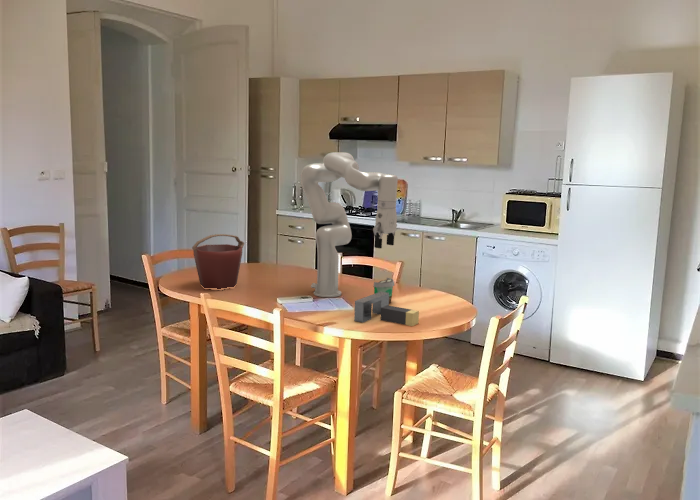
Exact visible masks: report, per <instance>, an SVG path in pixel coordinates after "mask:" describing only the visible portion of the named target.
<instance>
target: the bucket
mask: <svg viewBox="0 0 700 500" xmlns="http://www.w3.org/2000/svg"><path fill="white" fill-rule="evenodd" d="M216 237H230V238H234V239H235V241H236V242H237V243H238V244H237V245H236V244H235V245H233V244H228V243H227V244H205V245H204V244H203V245H200V244H201V243H203V242H205V241H207V240H209V239H211V238H216ZM199 245H200V246H199ZM244 245H245V242H244V241H242V240H240V238H239V236H238V235H233V234H225V233H217V234H216V233H215V234H210V235H207V236H205V237H203V238H201V239H200V240H198V241H196V242H195V243H194V244H193V246H192V247H191V248H192V250H193V257H194V263H195V267H196V272H197V276H198V281H199V285H200V284H201V285H202V286H203V287H204V288H217V289H221V288H227V287H234V286H235V285H236V284H238V278H239V274H240V268H241V262H242V256H243V248H244ZM236 286H237V285H236Z"/></svg>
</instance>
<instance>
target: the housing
mask: <svg viewBox="0 0 700 500" xmlns="http://www.w3.org/2000/svg"><path fill="white" fill-rule="evenodd" d="M387 305H389V306H390V304H389V293H387V292H378V293H375V294H374V293H373V294H369V295H368V296H367V295H366V296H364V297H362V298H359V299H356V300H354V322H358V323H366V322H368V321H370V320H372V314H374V315H379V316H381V308H382V307H384V306H387Z"/></svg>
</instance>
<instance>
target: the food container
mask: <svg viewBox="0 0 700 500" xmlns="http://www.w3.org/2000/svg"><path fill="white" fill-rule="evenodd" d="M372 286H373V288H374V289H373V294H375V293H378V292H387V293H389V305H390V304H392V298H393V290H394V289H393V288H394V286H395V281H394V279H393V278H390V277H386V279H384V280H380V281H379V282H377V281H374V282H373V285H372Z"/></svg>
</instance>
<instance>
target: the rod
mask: <svg viewBox="0 0 700 500" xmlns="http://www.w3.org/2000/svg"><path fill="white" fill-rule="evenodd" d="M419 311H420V310H415V309H411V308H405V307H398V306H394V305H390V304H389V305H387V306H384V307H382V308H381V315H380V321H384V322H387V323H392V324H393V323H394V324H398V325H404V326H409V327H414V326H416V325H418V324H419V317H420V312H419Z"/></svg>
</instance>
